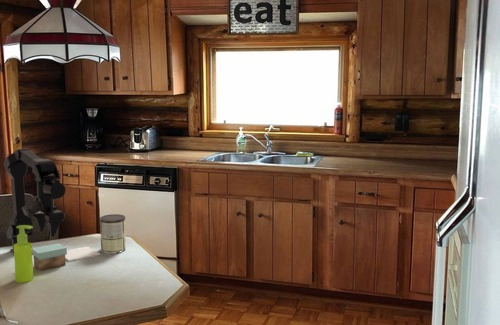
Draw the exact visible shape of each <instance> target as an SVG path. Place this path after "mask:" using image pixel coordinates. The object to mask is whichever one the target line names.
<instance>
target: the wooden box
mask: <svg viewBox="0 0 500 325" xmlns="http://www.w3.org/2000/svg"><path fill="white" fill-rule="evenodd" d="M32 257H33V268H35V269H37V270H38V271H39V272H40V271H45V270H50V269H54V268H59V267H64V266H66V264H67V262H66V261H67V260H66V259H65V255H61V256H57V257H52V258H47V259H42V260H38V258H37V257H36V256H34V255H32Z"/></svg>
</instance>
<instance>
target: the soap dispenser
mask: <svg viewBox="0 0 500 325" xmlns="http://www.w3.org/2000/svg"><path fill="white" fill-rule="evenodd" d="M17 228H19V234H18V235H17V243H16V244H14V253H13V254H14V255H13V256H14V257H13V259H14V260H13V261H14V273H15V275H14V276H15V282H16V283H19V284H20V283H22V284H23V283H28V282H32V281H33V280H34V261H33V255H32V249H33V247H32V243H31V242H29V241H28V236H27V234H25V232H24V228H27V229H31V228H34V226H33V227H32V226H29V225H19V226H17Z"/></svg>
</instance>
